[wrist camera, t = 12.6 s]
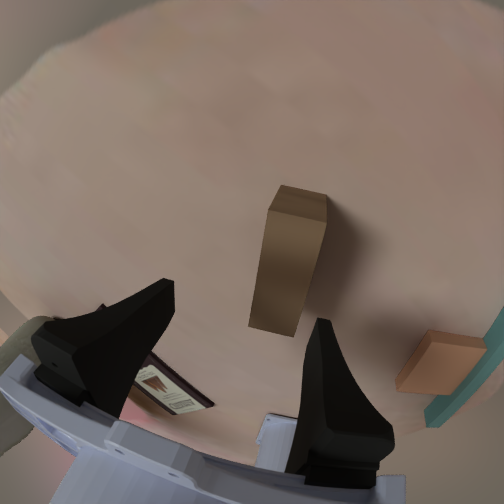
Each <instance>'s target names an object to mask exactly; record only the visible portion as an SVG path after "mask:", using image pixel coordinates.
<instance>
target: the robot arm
mask: <svg viewBox="0 0 504 504" xmlns="http://www.w3.org/2000/svg"><path fill="white" fill-rule="evenodd" d="M174 313H175V298H174V281H172V280H169V279H165V278H162V279H161V280H159V281H157V282H155V283H153V284H152V285H150V286H148V287H146V288H145V289H143V290H141V291H139V292H137V293H136V294H134V295H132V296H130V297H128V298H126V299H124V300H122V301H120V302H118V303H116V304H114V305H111V306H109V307H106V308H104V309H101V310H98V311H95V312H92V313H89V314H85V315H82V316H78V317H73V318H68V319H62V320H53V321H45V322H44V323H43V324H42V325H41V326H40V327H39V328H38V330H37V331H36V332H35V333H34V334H33V335H32V336H31V343H32V346H33V348H34V350H35V352H36V354H37V356H38V358H39V360H40V362H41V364H40V365H39V367H38V366H37V365H36V364H35V363H34V362H33V361H31V360H30V359H29V358H27V357H26V356H24V355H23V354H20V355H19V356H18V357H17V358H16V359H15V360H14V362H13V363H12V364H11V365H10V366H9V367H8V368H7V370H6V371H5V372H4V373H3V374H2V375H1V376H0V391H1V393H2V394H3V395H4V396H5V398H6V399H7V400H8V401H9V403H10V404H11V405H12V406H13V408H14V409H15V410H16V411H17V412H18V413H20V414H21V415H22V416H23V417H24V418H25V419H27V420H28V421H29V422H30V423H31V424H33V425H34V426H35V427H36V428H38V429H39V430H40V431H41V432H43V433H44V434H45V435H46V436H48V437H49V438H50V439H52V440H53V441H54V442H56V443H57V444H58V445H60V446H61V447H62V448H64V449H65V450H66V451H68V452H69V453H71V454H72V455H74V456H75V457H76V459H75V460H74V462H73V463H72V465H71V467H70V468H69V470H68V472H67V474H66V475H65V477H64V479H63V480H62V482H61V484H60V485H59V487H58V489H57V491H56V492H55V494H54V496H53V498H52V499H51V501H50V503H49V504H406V476H405V475H381V476H377V477H376V471H377V470H379V464H380V461H381V460H382V459H384V458H385V457H386V456H387V455H389V454H390V453H391V452H392V451H393V449H394V447H395V441H394V440H395V439H394V432H393V427H392V425H391V424H390V423H389V422H388V421H387V420H386V419H385V418H384V417H383V416H382V415H381V414H380V413H379V412H378V411H377V410H376V409H375V408H374V406H373V405H372V404H371V403H370V401H369V400H368V399H367V397H366V396H365V395H364V393H363V392H362V391H361V389H360V387H359V386H358V384H357V383H356V381H355V379H354V377H353V376H352V374H351V372H350V370H349V368H348V366H347V364H346V362H345V359H344V357H343V355H342V352H341V350H340V347H339V345H338V342H337V339H336V336H335V333H334V330H333V327H332V323H331V321H330V320H327V319H322V318H317V320H316V323H315V326H314V329H313V331H312V334H311V337H310V339H309V342H308V344H307V347H306V353H305V358H304V364H303V376H302V390H301V403H300V410H299V415H298V419H293V418H288V417H283V416H278V415H273V414H267V415H266V417H265V420H264V422H263V425H262V427H261V430H260V432H259V435H258V437H257V440H256V444H259V445H260V448H259V452H258V456H257V459H256V463H255V467H253V466H249V465H245V464H241V463H237V462H233V461H229V460H225V459H222V458H218V457H215V456H212V455H208V454H205V453H202V452H199V451H196V450H194V449H192V448H190V447H188V446H185V445H183V444H181V443H178V442H175V441H172V440H170V439H167V438H165V437H162V436H160V435H157V434H155V433H152V432H150V431H147V430H145V429H143V428H140V427H138V426H136V425H134V424H132V423H129V422H126V421H123V420H119V417H120V414H121V411H122V408H123V406H124V403H125V401H126V398H127V396H128V394H129V391H130V389H131V387H132V385H133V383H134V380H135V378H136V376H137V374H138V372H139V370H140V368H141V366H142V364H143V363H144V361H145V359H146V358H147V356H148V355H149V353H150V352H151V350H152V349H153V347H154V346H155V345H156V343H157V342H158V340H159V339H160V337H161V336H162V334H163V333H164V331H165V330H166V328H167V327H168V325H169V323H170V321H171V319H172V317H173V315H174Z"/></svg>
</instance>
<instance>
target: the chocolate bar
mask: <svg viewBox="0 0 504 504" xmlns="http://www.w3.org/2000/svg"><path fill="white" fill-rule="evenodd" d="M104 308H106V306H105V305H104V304H102V305H101V306H100V307H99V308H98V309H97V310H96V311H98V310H101V309H104ZM133 385H135V386H136V387H137V388H138V389H139V390H141V391H142V392H143V393H144V394H146V395H147V396H148V397H149V398H151V399H152V400H153V401H155V402H156V403H157V404H158V405H160V406H161V407H162V408H164V409H165V410H166V411H168V412H169V413H170V414H172V415H176V414H182V413H186V412H191V411H196V410H200V409H205V408H209V407H213V405H214V403H213V402H212V401H211V400H209V399H208V398H207V397H205V396H204V395H203V394H201V393H200V392H199V391H198V390H196V389H195V388H194V387H193V386H191V385H190V384H189V383H188V382H186V381H185V380H184V379H183V378H182V377H180V376H179V375H178V374H177V373H176V372H174V371H173V370H172V369H171V368H170V367H169V366H167V365H166V364H165V363H164V362H163V361H162V360H161V359H159V358H158V357H157V356H156V355H155V354H154V353H153V352H152V351H151V352H150V353H149V355H148V356H147V358H146V359H145V361H144V363H143V364H142V366H141V368H140V370H139V372H138V374H137V376H136V378H135V380H134V383H133Z"/></svg>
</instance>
